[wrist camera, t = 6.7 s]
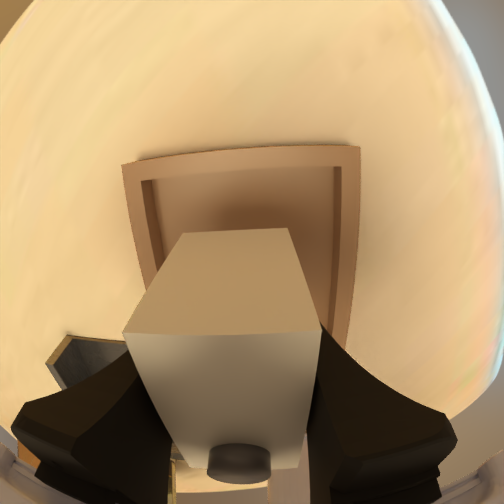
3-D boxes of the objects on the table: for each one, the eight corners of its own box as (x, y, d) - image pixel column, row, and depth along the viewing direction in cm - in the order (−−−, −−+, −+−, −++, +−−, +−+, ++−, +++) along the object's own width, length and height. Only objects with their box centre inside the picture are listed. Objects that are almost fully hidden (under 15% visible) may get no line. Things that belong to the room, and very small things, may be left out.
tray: (348, 145, 14) (360, 146, 12) (337, 336, 19) (343, 354, 17) (136, 161, 15) (121, 164, 13) (174, 342, 20) (167, 360, 18)
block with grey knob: (288, 227, 11) (333, 358, 4) (286, 361, 13) (300, 485, 7) (181, 233, 11) (105, 357, 4) (205, 363, 13) (186, 484, 7)
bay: (213, 345, 20) (203, 397, 15) (230, 421, 24) (226, 463, 19) (66, 335, 20) (39, 370, 16) (107, 407, 24) (92, 440, 20)
